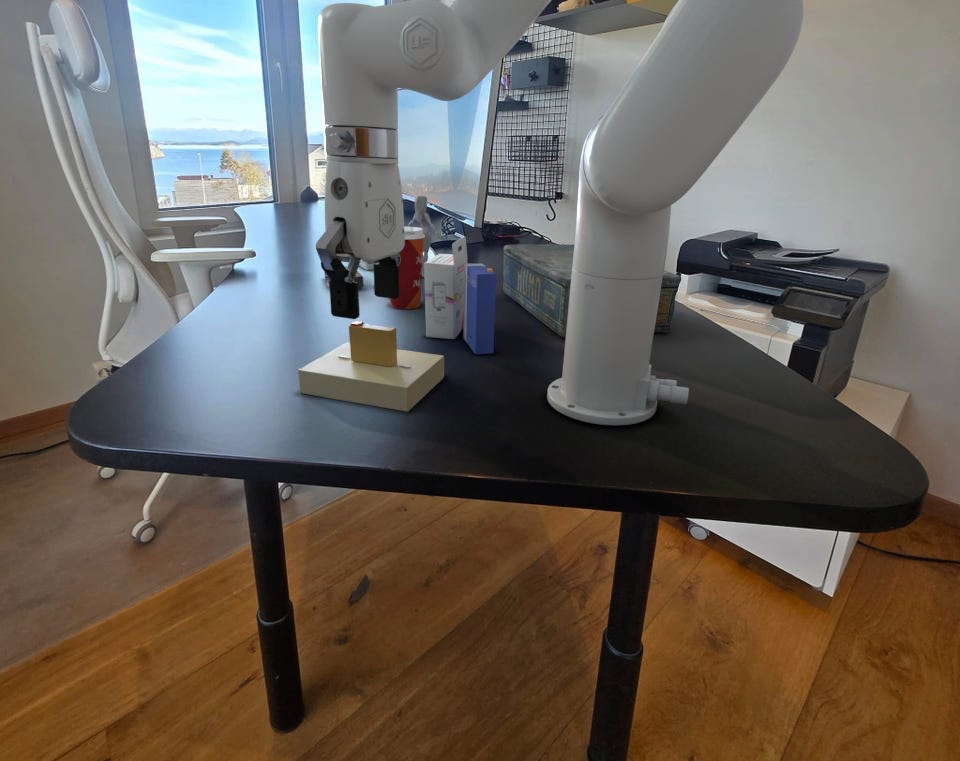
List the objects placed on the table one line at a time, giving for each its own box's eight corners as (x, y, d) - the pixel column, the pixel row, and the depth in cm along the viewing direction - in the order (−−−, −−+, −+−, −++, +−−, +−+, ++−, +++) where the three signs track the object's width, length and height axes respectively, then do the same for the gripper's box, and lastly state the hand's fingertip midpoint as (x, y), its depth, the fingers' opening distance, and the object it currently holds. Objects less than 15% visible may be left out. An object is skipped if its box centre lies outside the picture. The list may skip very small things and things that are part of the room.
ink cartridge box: (438, 322, 93) (438, 233, 87) (467, 324, 92) (468, 235, 86) (423, 337, 85) (422, 241, 80) (454, 340, 84) (455, 243, 79)
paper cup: (431, 308, 101) (430, 231, 95) (390, 311, 98) (387, 232, 93) (419, 298, 108) (418, 225, 102) (380, 301, 105) (377, 226, 99)
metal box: (590, 289, 119) (595, 242, 115) (676, 334, 90) (687, 274, 86) (497, 292, 114) (499, 244, 110) (557, 341, 85) (562, 278, 81)
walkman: (493, 353, 79) (496, 271, 75) (475, 354, 79) (477, 271, 74) (480, 336, 86) (482, 260, 82) (463, 337, 86) (464, 261, 81)
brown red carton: (352, 264, 125) (363, 274, 112) (353, 277, 126) (363, 289, 113) (322, 266, 123) (329, 276, 109) (323, 279, 124) (330, 291, 110)
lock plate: (444, 377, 70) (444, 354, 69) (407, 412, 61) (407, 386, 60) (348, 362, 74) (347, 340, 73) (300, 393, 65) (297, 368, 63)
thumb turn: (397, 362, 66) (396, 325, 64) (391, 367, 65) (390, 329, 63) (357, 356, 68) (355, 320, 66) (350, 361, 66) (348, 323, 65)
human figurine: (447, 280, 124) (447, 196, 117) (435, 282, 121) (434, 197, 114) (411, 272, 131) (409, 193, 124) (399, 274, 128) (396, 193, 121)
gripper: (350, 147, 48) (358, 331, 55) (427, 150, 64) (426, 294, 70) (279, 143, 51) (294, 321, 57) (370, 147, 66) (374, 287, 72)
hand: (367, 306), depth 64 cm, fingers open, 9 cm apart
